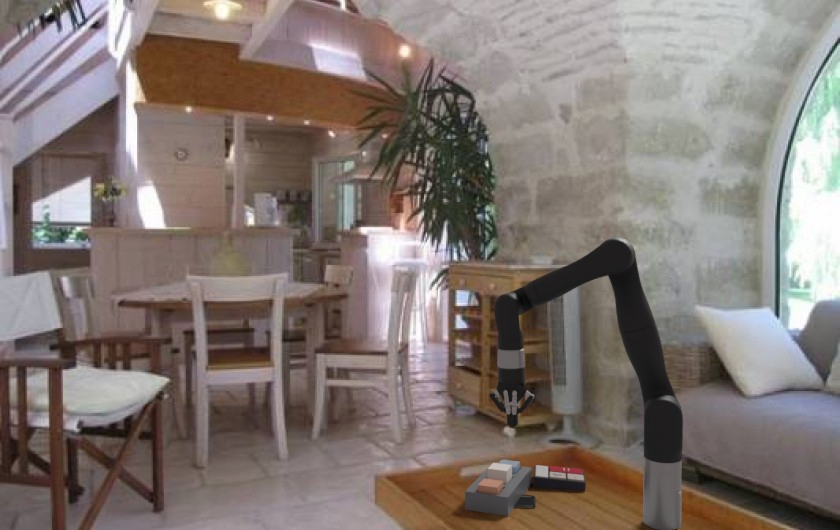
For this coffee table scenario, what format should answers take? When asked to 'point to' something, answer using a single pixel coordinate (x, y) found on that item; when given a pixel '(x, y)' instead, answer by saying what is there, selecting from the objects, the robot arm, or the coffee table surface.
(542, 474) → the calculator
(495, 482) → the terracotta key
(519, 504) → the phone
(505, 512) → the key panel
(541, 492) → the coffee table surface
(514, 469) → the slate key
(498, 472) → the white key
